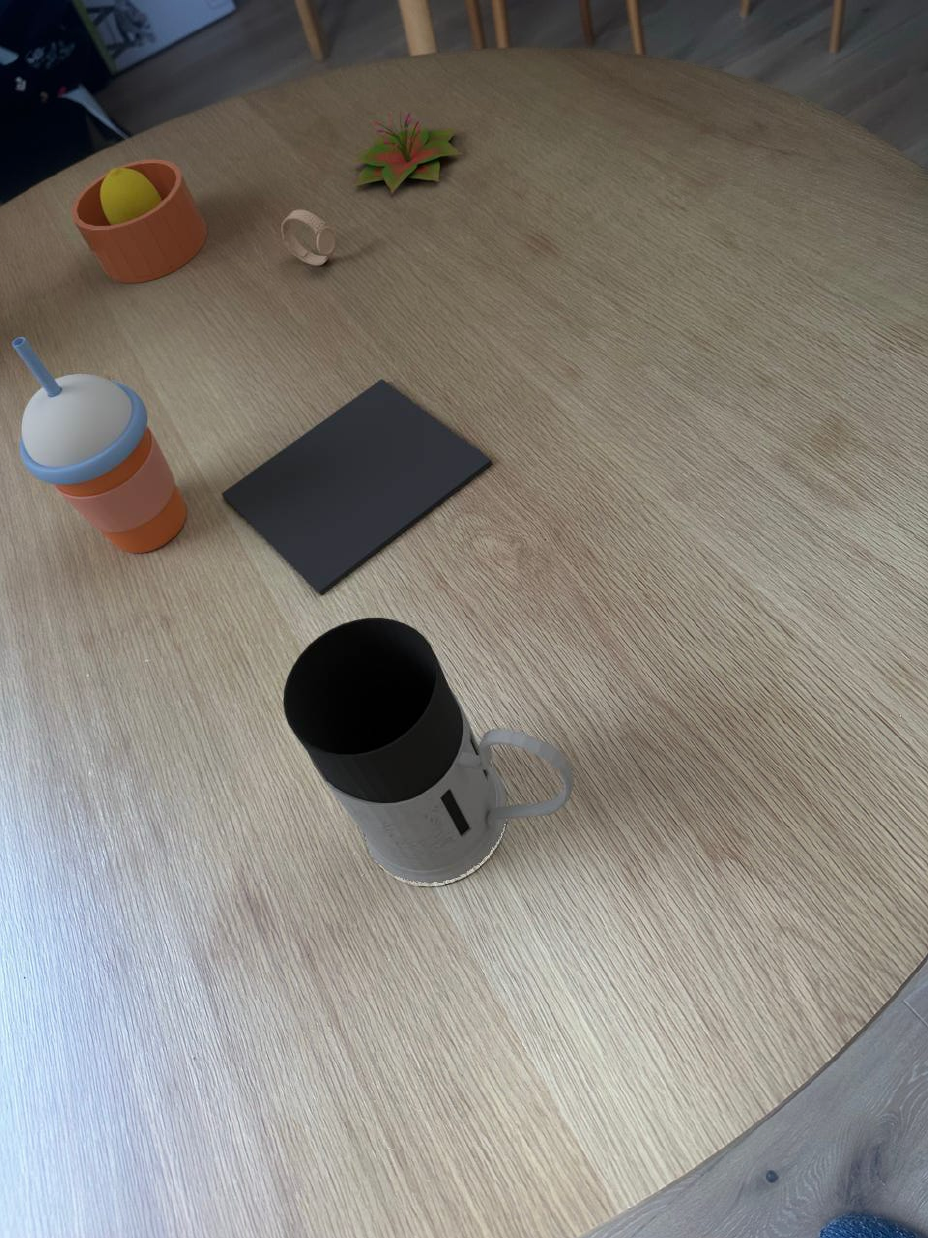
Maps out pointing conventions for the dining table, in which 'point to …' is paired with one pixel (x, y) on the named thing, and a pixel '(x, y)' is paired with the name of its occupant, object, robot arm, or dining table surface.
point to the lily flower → (405, 154)
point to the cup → (143, 227)
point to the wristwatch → (325, 233)
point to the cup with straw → (100, 456)
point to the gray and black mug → (405, 750)
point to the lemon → (127, 195)
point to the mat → (354, 484)
